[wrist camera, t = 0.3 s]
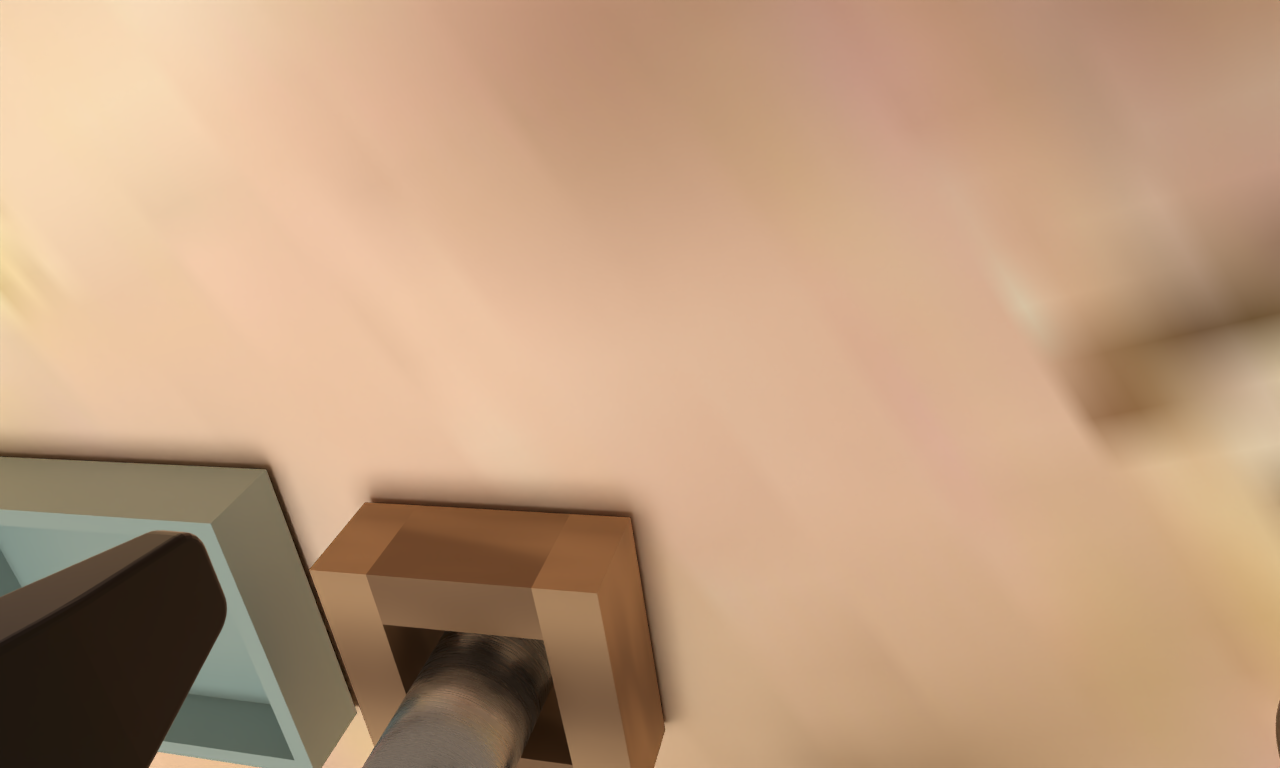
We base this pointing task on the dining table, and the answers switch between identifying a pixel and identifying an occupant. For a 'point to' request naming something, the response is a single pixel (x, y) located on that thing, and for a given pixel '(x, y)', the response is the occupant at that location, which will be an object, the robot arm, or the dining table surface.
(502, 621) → the socket block
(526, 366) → the dining table surface
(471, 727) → the pin
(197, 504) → the tray
